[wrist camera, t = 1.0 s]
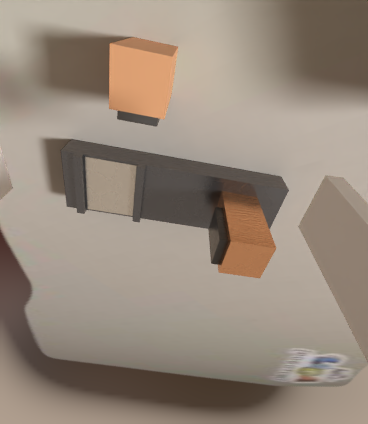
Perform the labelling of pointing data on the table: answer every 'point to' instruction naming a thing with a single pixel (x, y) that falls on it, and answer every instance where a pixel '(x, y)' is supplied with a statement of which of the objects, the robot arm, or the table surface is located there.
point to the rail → (180, 198)
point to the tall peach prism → (141, 79)
